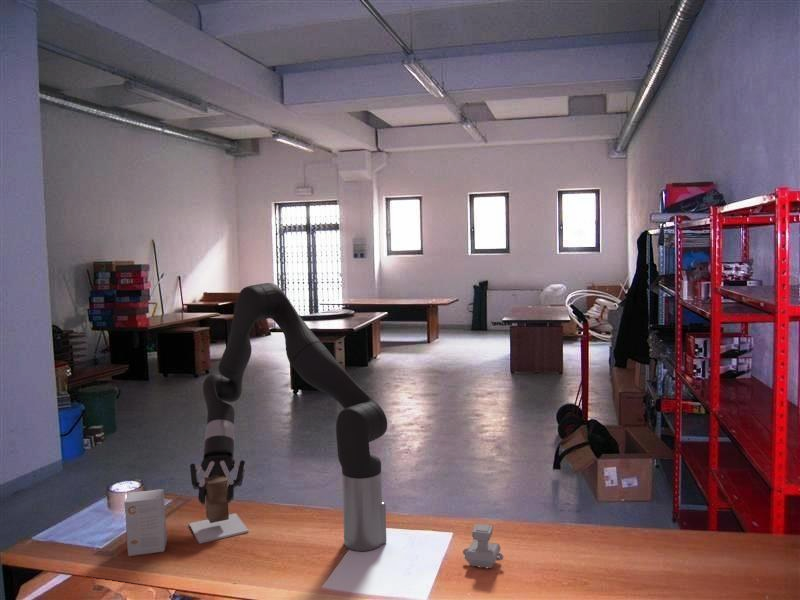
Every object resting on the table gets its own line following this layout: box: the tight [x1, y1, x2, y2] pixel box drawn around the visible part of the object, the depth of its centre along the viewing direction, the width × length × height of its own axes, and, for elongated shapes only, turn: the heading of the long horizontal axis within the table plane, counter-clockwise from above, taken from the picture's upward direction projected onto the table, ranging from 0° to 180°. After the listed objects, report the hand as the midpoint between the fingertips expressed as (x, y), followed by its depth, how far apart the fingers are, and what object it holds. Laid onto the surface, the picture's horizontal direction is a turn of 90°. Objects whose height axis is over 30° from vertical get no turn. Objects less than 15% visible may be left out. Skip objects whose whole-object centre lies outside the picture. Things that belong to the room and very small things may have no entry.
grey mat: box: [188, 512, 249, 545], centre depth 165 cm, size 12×12×1 cm
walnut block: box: [205, 475, 230, 523], centre depth 164 cm, size 4×4×10 cm
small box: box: [124, 488, 168, 557], centre depth 155 cm, size 8×6×13 cm
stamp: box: [462, 523, 504, 569], centre depth 144 cm, size 9×7×8 cm
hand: (216, 502), depth 163 cm, fingers closed on walnut block, 5 cm apart
